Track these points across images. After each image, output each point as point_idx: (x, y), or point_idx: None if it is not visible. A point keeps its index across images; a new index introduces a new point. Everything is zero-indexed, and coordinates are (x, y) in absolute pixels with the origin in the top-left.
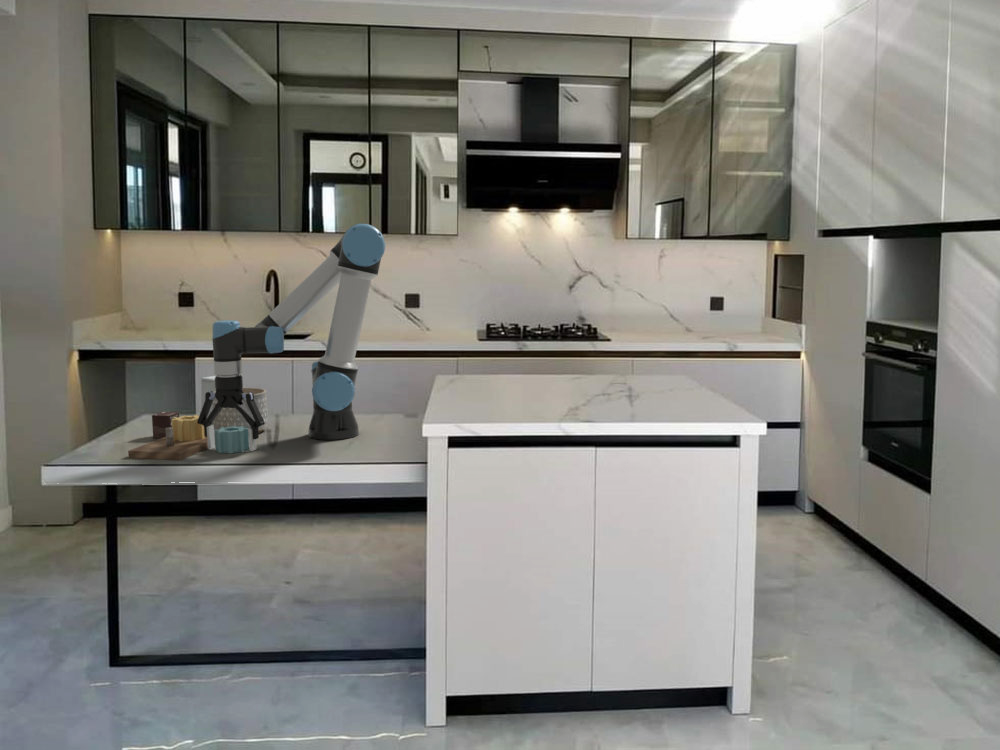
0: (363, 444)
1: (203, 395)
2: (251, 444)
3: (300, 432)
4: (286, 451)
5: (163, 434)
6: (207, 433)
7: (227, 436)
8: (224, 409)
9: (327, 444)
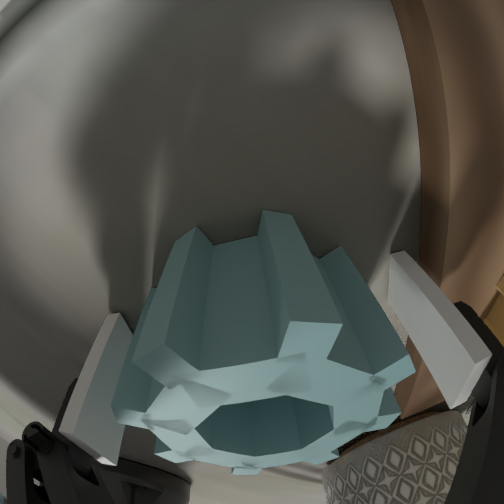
0: (9, 422)
1: None
2: (95, 342)
3: (227, 483)
4: (25, 353)
5: None
6: (460, 318)
7: (214, 329)
8: (445, 487)
9: (47, 425)
